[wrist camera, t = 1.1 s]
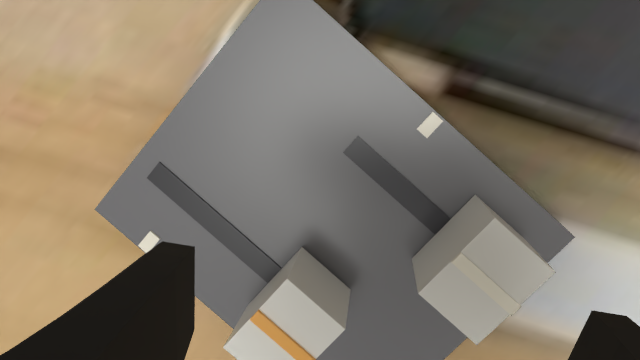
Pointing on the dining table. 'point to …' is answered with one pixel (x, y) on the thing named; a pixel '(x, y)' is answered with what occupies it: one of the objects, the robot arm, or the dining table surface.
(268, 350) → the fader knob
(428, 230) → the panel
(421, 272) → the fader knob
